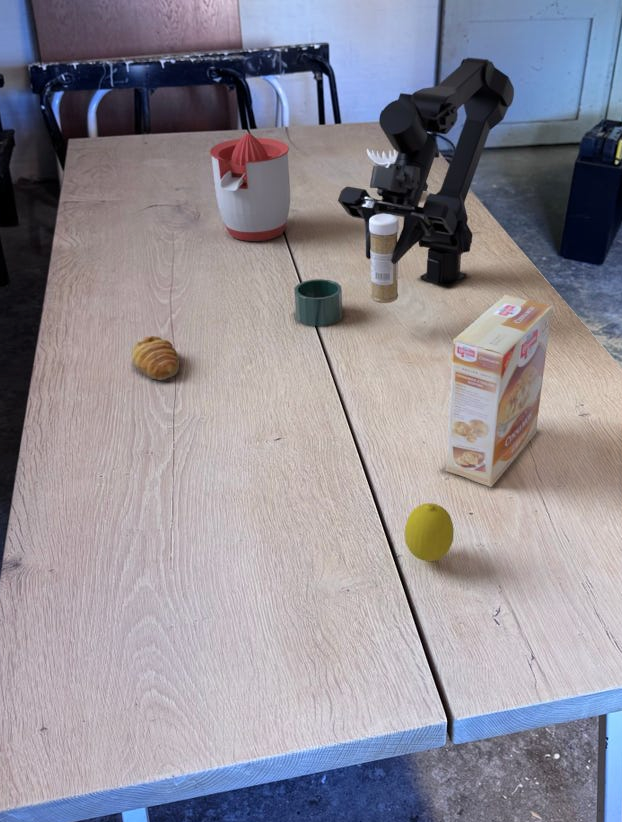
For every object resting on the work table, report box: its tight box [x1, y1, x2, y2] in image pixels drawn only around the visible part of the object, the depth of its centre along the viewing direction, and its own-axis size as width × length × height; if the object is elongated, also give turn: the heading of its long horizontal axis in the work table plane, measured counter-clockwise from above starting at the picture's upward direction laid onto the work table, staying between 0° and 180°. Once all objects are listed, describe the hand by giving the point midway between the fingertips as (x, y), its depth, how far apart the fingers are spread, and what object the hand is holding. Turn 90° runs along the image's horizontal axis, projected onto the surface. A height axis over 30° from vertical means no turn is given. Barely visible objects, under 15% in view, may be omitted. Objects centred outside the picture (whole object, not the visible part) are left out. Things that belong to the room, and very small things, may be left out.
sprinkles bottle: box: [369, 213, 400, 304], centre depth 139 cm, size 5×5×13 cm
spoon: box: [366, 148, 398, 168], centre depth 208 cm, size 9×32×4 cm, turn 7°
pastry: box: [131, 335, 180, 381], centre depth 137 cm, size 9×7×4 cm
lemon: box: [404, 502, 455, 562], centre depth 99 cm, size 6×6×8 cm
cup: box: [293, 278, 343, 327], centre depth 151 cm, size 8×8×5 cm
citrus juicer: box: [209, 132, 291, 242], centre depth 177 cm, size 16×17×20 cm
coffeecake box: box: [445, 294, 554, 488], centre depth 113 cm, size 15×7×20 cm, turn 148°
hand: (380, 260), depth 138 cm, fingers closed on sprinkles bottle, 4 cm apart
